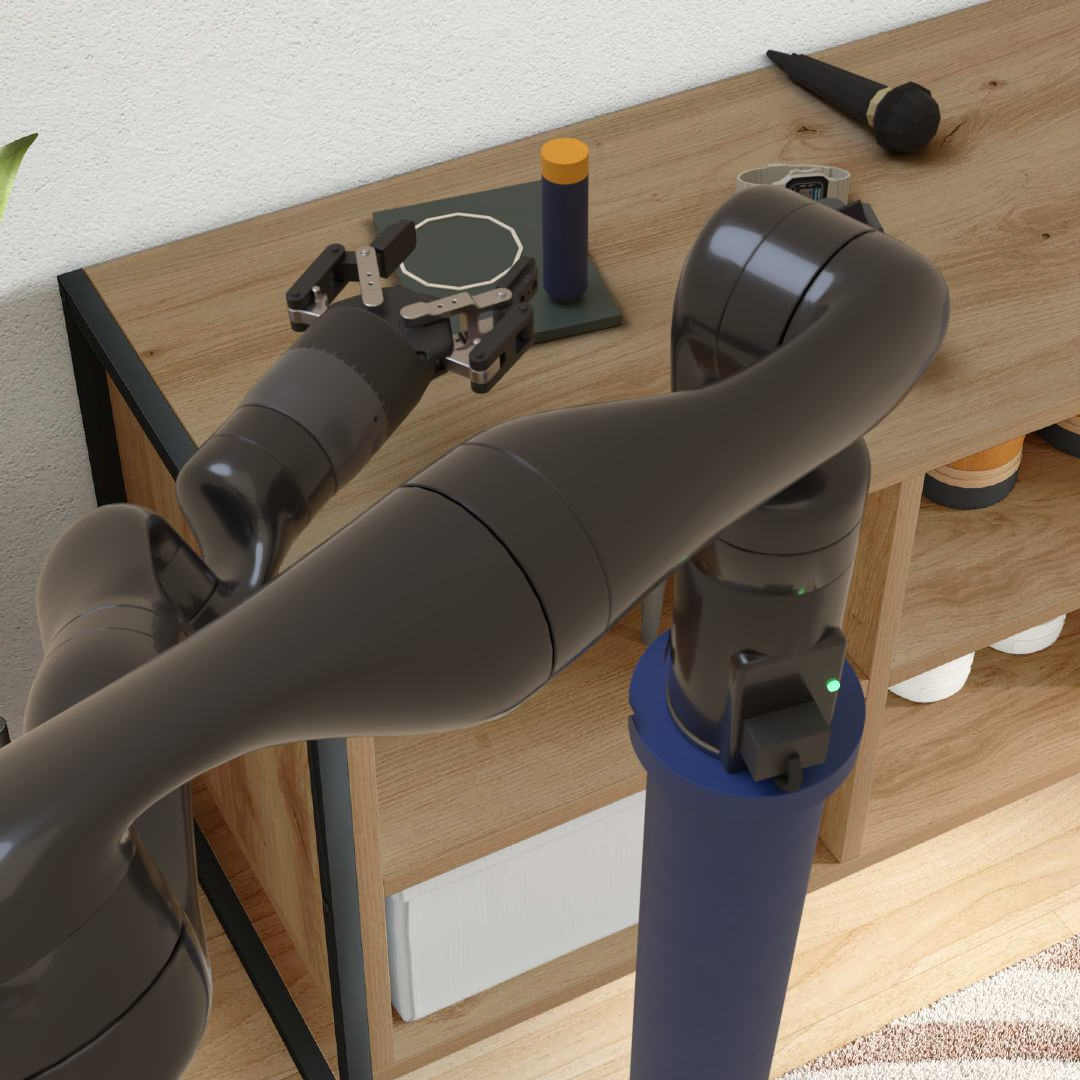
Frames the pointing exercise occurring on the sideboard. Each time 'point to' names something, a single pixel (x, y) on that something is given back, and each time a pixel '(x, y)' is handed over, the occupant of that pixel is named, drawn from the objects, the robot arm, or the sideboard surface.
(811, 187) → the wristwatch
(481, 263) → the slate
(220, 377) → the sideboard surface
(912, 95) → the microphone
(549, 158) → the marker
